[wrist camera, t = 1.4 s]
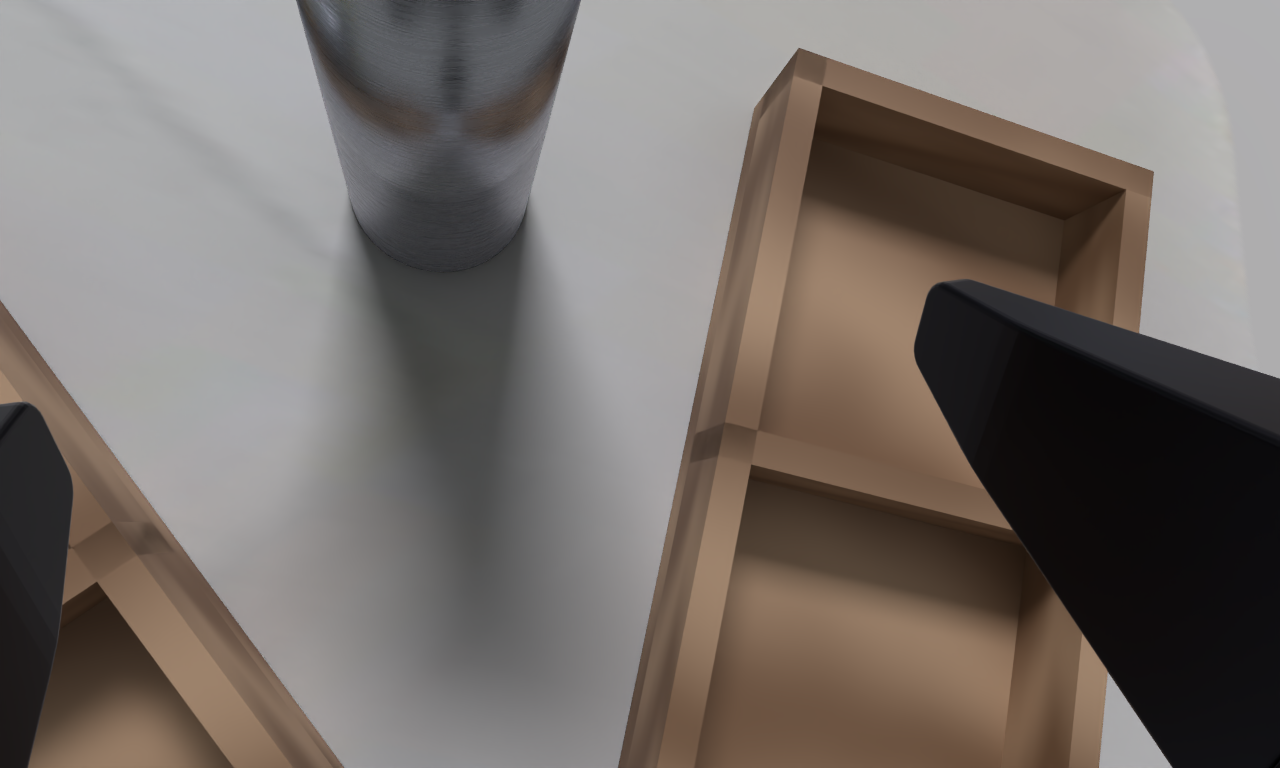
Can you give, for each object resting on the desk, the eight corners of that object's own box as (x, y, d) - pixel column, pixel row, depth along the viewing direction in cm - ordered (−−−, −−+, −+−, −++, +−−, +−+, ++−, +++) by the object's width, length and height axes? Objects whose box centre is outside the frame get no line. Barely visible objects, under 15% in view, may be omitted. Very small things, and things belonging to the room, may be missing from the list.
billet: (561, 189, 23) (684, -155, 11) (445, 306, 22) (449, 53, 10) (435, 74, 23) (429, -398, 11) (310, 186, 21) (158, -214, 10)
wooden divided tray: (989, 929, 22) (1078, 993, 19) (597, 868, 20) (625, 928, 17) (1071, 213, 27) (1153, 171, 23) (754, 108, 25) (798, 48, 22)
